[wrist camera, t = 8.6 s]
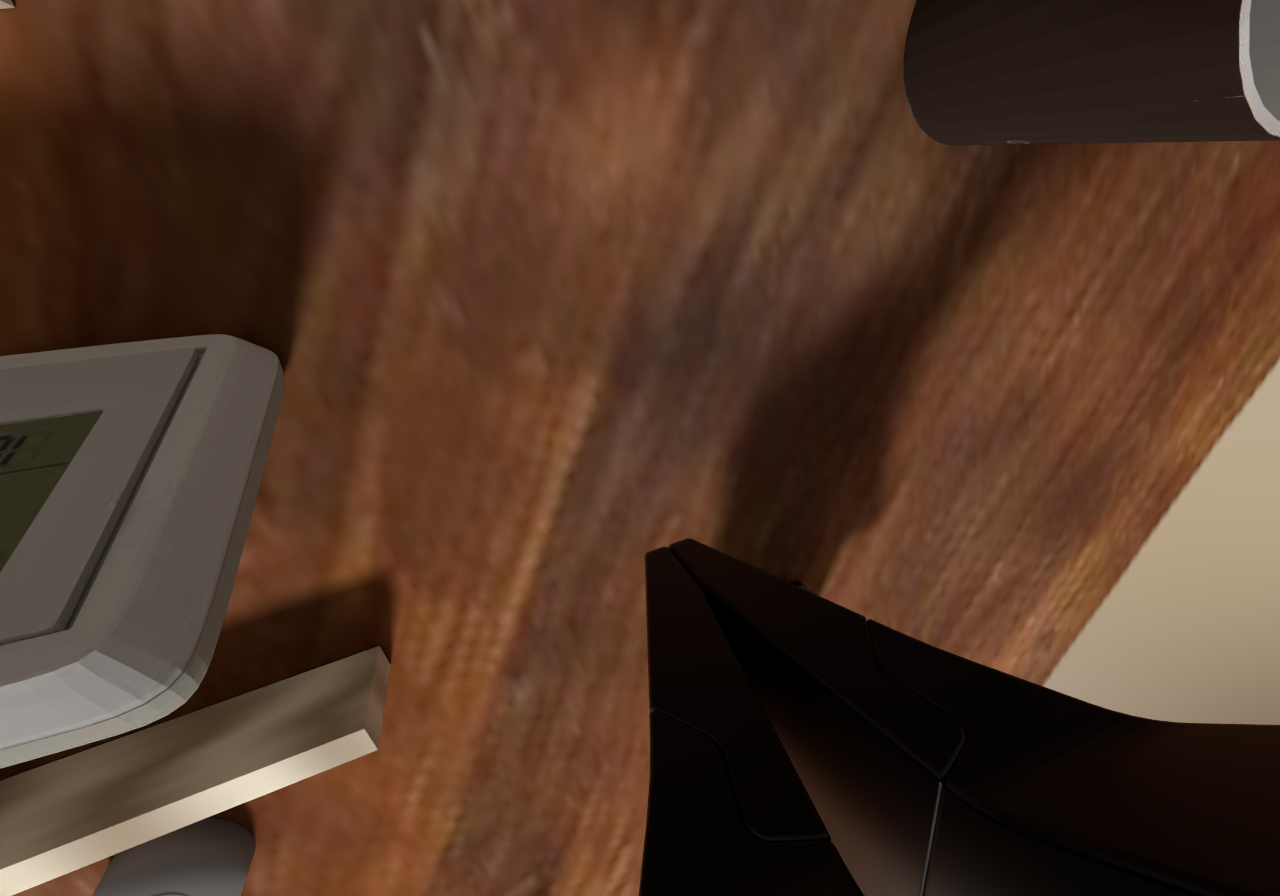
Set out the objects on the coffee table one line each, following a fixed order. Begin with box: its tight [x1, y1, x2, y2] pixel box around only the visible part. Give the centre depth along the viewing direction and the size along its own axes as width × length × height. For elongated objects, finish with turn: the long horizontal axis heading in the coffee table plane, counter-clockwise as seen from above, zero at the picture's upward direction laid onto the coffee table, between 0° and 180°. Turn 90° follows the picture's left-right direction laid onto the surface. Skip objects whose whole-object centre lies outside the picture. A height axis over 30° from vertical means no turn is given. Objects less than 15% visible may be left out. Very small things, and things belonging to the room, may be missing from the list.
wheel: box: [92, 817, 255, 896], centre depth 21 cm, size 5×5×2 cm
